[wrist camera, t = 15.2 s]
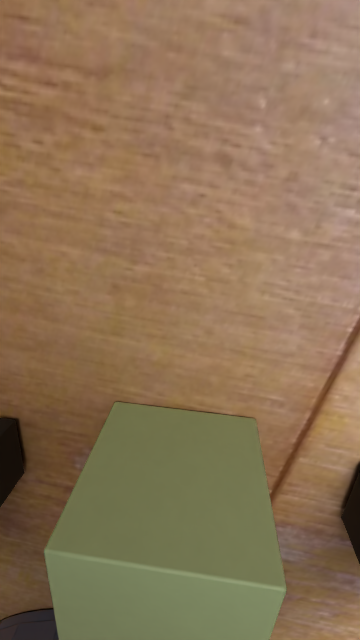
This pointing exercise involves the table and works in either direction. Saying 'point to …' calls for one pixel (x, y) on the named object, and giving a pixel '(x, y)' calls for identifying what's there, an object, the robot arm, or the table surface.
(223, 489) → the sage block
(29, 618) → the navy round tub
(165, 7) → the table surface
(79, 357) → the table surface
